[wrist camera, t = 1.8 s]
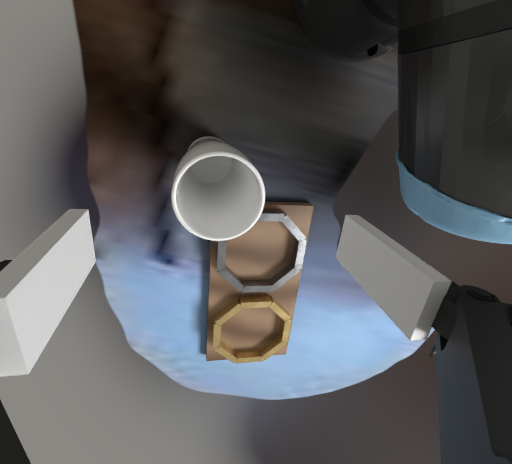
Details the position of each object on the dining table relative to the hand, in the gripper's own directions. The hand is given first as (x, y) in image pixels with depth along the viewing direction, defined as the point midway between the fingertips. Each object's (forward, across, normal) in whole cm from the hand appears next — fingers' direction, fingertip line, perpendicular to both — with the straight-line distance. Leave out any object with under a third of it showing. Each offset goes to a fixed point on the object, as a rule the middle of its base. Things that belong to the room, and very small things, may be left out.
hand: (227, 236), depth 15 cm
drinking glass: (+21, 0, 0) cm, 21 cm away
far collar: (+20, +7, -24) cm, 32 cm away
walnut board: (+21, +7, -18) cm, 28 cm away
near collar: (+20, +7, -11) cm, 24 cm away
